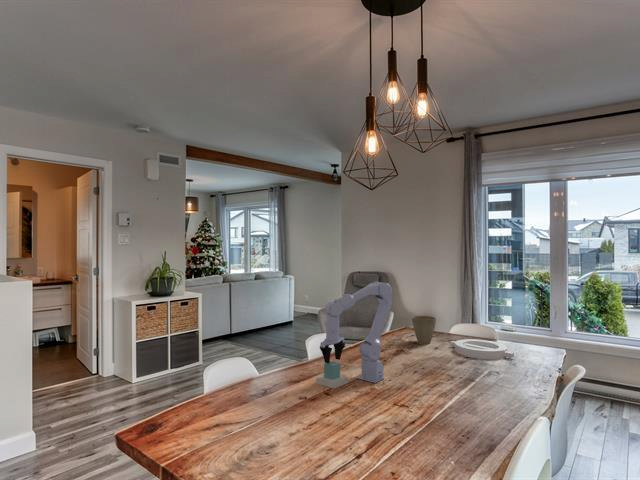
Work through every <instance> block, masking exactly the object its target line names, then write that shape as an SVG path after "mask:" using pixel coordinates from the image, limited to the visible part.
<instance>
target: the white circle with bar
mask: <svg viewBox="0 0 640 480" xmlns="http://www.w3.org/2000/svg"><path fill="white" fill-rule="evenodd" d="M449 345H450V347H454V352H455V353H456V354H459V355H461V356H464V357H468V358H471V359H480V360H502V359H501V358H503V359H505V357H506V358H508V359H512V358H515V353H514V352H513V351H508V346H507V345H505V344H503V343H500V342H496V341H492V340H491V341H490V340H485V339H477V338H476V339H474V338H472V339H465V338H464V339H457V340H456V341H455V340H451V341H450V342H449Z"/></svg>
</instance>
